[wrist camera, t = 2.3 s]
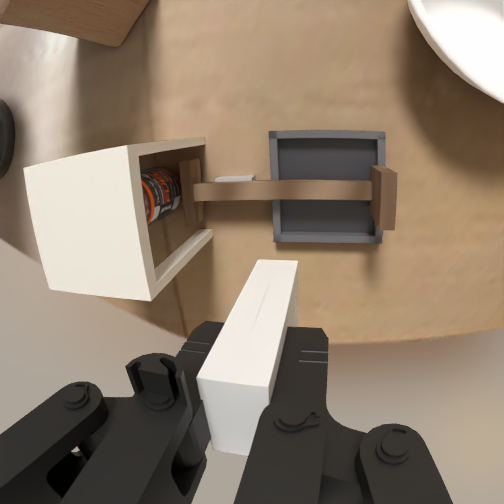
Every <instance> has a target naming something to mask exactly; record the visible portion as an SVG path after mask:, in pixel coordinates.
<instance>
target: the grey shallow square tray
mask: <svg viewBox="0 0 504 504" xmlns="http://www.w3.org/2000/svg"><path fill="white" fill-rule="evenodd" d="M269 147H270V167H271V180H360V181H370V165H375V166H385V132H375V131H347V130H294V131H269ZM369 208H370V200H325V199H272V210H273V235H274V242H324V243H381V244H382V235H383V230H379V228H378V227H377V225H376V223H375V222H374V220H373V218H372V217H371V215H370V213H369Z"/></svg>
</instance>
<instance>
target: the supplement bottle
mask: <svg viewBox="0 0 504 504" xmlns="http://www.w3.org/2000/svg"><path fill="white" fill-rule="evenodd" d="M140 175H141V184H142V192H143V200H144V207H145V214H146V221H147V227H148V226H149V225H151V224H153V223H155V222H156V221H158V220H160V219H162V218H163V217H165V216H167V215H169V214H170V213H172V212H173V211H174V210H176V209H177V207H178V206H179V204H180V202H181V199H182V188H181V182H180V180H179V178H178V177H177V175H176V174H175V173H174V172H172V171H171V170H169V169H166V168H163V167H158V168H152V169H148V170H144V171H140Z"/></svg>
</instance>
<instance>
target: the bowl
mask: <svg viewBox="0 0 504 504" xmlns="http://www.w3.org/2000/svg"><path fill="white" fill-rule="evenodd" d="M407 2H408V6H409V10H410V12H411V14H412V16H413V18H414V21H415V23H416V25H417V27H418V29H419V30H420V32H421V33H422V35H423V36H424V38H425V40H426V41H427V43H428V44H429V45H430V47H431V48H432V49H433V50H434V51H435V53H436V54H437V55H438V56H439V58H440V59H441V60H442V61H443V62H444V63H445V64H446V65H447V66H448V67H449V68H450V69H451V70H452V71H453V72H454V73H456V74H457V75H458V76H460V77H461V78H462V79H463V80H465V81H466V82H467V83H468V84H470V85H472V86H473V87H475V88H477V89H479V90H480V91H482V92H484V93H486V94H487V95H489V96H491V97H493V98H494V99H496V100H498V101H500V102H501V103H504V0H407Z"/></svg>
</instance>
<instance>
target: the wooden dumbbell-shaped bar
mask: <svg viewBox="0 0 504 504" xmlns="http://www.w3.org/2000/svg"><path fill="white" fill-rule="evenodd" d="M179 168H180V179H181V188H182V198H183V207H184V216H185V224H186V225H197V224H198V223H199V222H201V221H202V220H203V219H204V218H205V215H204V204H203V201H219V200H269V199H325V200H370V208H369V213H370V215H371V217H372V218H373V220H374V222H375V223H376V225H377V227H378V228H379V230H395V216H396V198H397V173H396V172H394V171H392V170H390V169H389V168H387V167H385V166H375V165H370V181H360V180H257V181H227V182H206V183H201V171H200V159H199V158H198V159H188V160H184V161H181V162H179Z"/></svg>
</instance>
